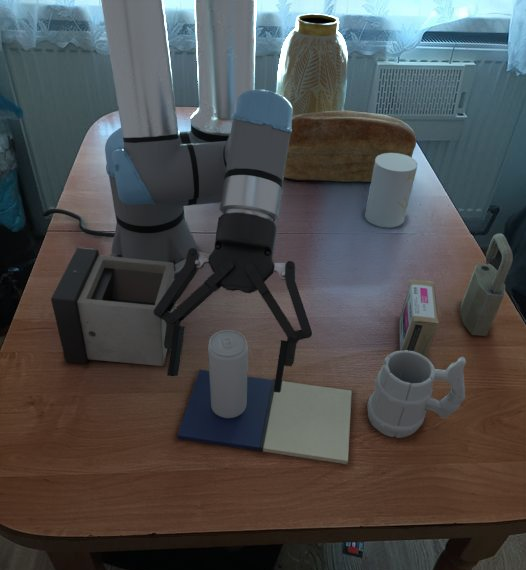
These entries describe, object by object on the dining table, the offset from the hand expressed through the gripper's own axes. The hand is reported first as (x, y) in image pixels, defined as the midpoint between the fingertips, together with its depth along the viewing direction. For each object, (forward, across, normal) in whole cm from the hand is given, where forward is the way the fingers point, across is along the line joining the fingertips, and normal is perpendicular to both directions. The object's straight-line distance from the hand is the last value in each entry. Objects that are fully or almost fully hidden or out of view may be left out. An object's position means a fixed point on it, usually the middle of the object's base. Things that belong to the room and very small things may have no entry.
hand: (224, 384), depth 69 cm
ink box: (-10, -26, -19) cm, 33 cm away
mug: (+2, -25, -8) cm, 26 cm away
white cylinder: (-36, -21, -46) cm, 62 cm away
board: (+4, -6, -5) cm, 9 cm away
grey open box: (-4, +18, -13) cm, 23 cm away
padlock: (-15, -36, -24) cm, 46 cm away
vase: (-62, -1, -73) cm, 95 cm away
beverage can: (+3, 0, -5) cm, 6 cm away
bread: (-49, -11, -59) cm, 77 cm away
